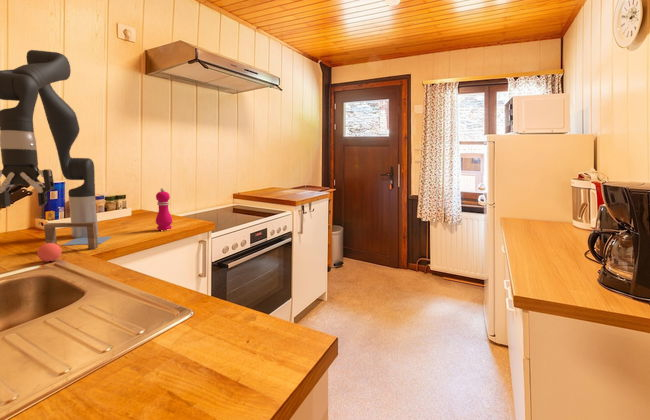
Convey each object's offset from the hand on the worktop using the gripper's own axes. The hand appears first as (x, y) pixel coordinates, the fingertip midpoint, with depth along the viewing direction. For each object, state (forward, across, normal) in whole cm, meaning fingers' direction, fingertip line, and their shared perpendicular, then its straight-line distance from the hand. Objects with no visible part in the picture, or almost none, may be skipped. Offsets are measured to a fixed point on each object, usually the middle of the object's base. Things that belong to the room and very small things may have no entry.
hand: (24, 206), depth 97 cm
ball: (+16, 0, -10) cm, 19 cm away
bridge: (+19, 0, -26) cm, 32 cm away
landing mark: (+18, 0, -40) cm, 44 cm away
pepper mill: (+18, -25, -60) cm, 67 cm away
